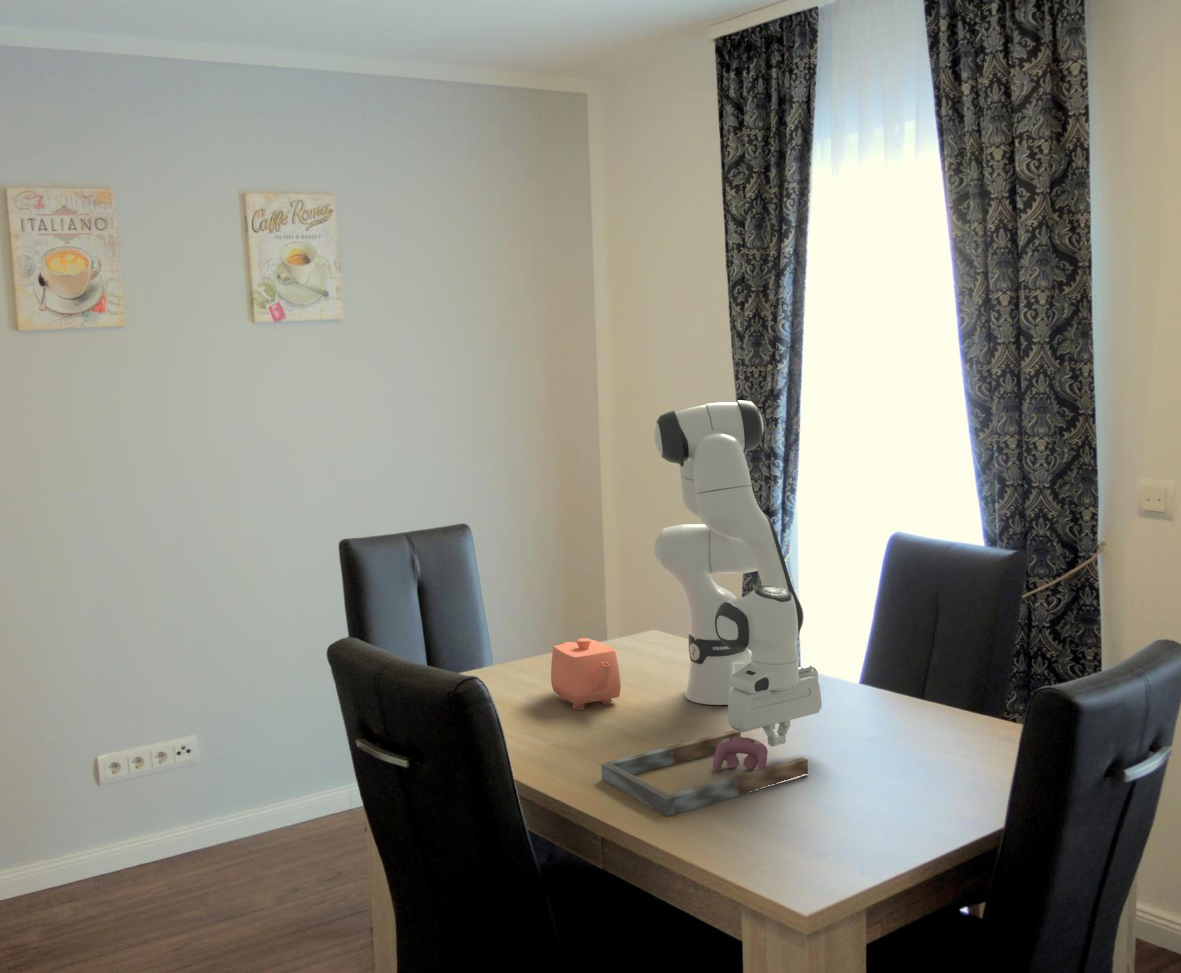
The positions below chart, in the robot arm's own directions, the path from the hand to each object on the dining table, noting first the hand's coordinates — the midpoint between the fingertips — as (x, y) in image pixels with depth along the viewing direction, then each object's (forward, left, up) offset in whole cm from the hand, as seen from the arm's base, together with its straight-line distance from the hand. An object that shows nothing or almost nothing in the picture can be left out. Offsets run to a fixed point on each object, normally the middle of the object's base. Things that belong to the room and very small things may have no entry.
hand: (776, 744), depth 218 cm
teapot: (+10, -53, -3) cm, 54 cm away
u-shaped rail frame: (+17, 0, -3) cm, 18 cm away
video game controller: (+9, +1, -3) cm, 10 cm away
